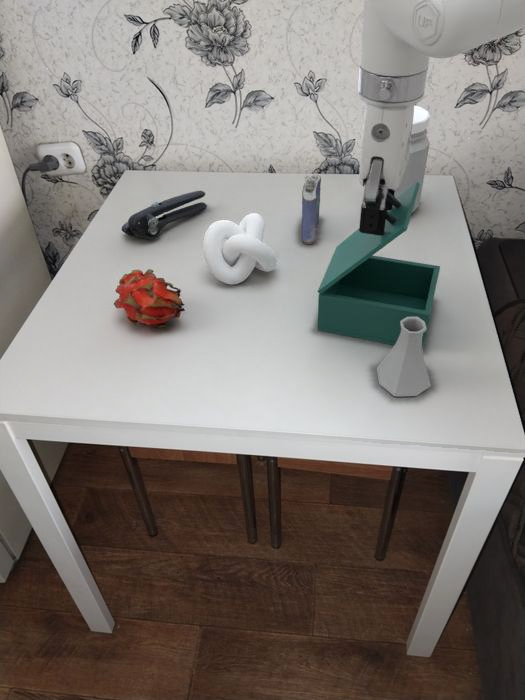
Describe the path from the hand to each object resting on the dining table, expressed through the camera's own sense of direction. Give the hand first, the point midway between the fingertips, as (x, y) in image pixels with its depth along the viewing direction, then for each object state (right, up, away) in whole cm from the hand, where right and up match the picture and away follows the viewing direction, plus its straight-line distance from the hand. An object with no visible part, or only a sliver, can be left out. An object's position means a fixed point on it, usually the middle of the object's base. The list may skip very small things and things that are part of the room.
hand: (376, 219), depth 79 cm
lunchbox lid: (0, -2, +3) cm, 4 cm away
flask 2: (-7, +4, +29) cm, 30 cm away
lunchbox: (+2, -12, +11) cm, 17 cm away
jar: (+10, +10, +34) cm, 36 cm away
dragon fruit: (-32, -13, +13) cm, 37 cm away
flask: (+4, -22, +2) cm, 22 cm away
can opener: (-33, +6, +32) cm, 46 cm away
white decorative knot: (-18, -5, +21) cm, 28 cm away
